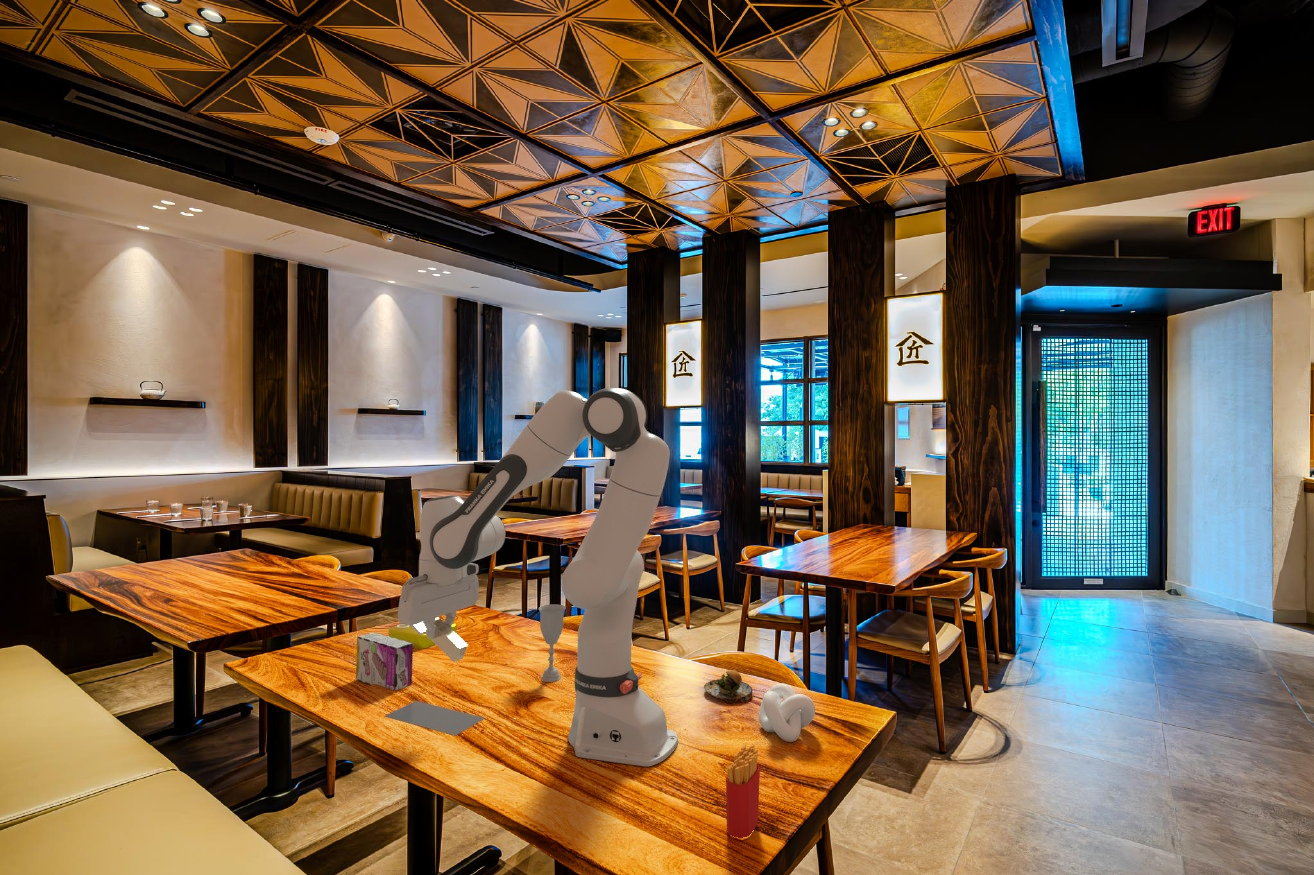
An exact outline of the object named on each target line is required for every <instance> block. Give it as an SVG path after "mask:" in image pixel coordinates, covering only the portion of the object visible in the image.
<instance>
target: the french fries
mask: <svg viewBox="0 0 1314 875" xmlns="http://www.w3.org/2000/svg"><path fill="white" fill-rule="evenodd" d="M758 751H759V750H758V749H756V748H755V744H753V745H750V746H749V747H747V745H745V744H744V745H742V747H741V749H740V751H738V752H736V753H735V754H734V755H733V763H732V764H730V765H729V766H728V767H727V775H726V776H725V794H726V796H725V798H726V802H725V803H726V808H725V810H726V832H727V831H728V833H729V835H732V836H734V837H738V838H743V837H747V836H749V835H750V834H751V833H752V831H753V830H754V829H755V827H756V826H757V823H758V824H759V803H760V801H759V798H760V778H761V777H760V776H761V775H760V774H761V773H760V772H761V771H760V770H761V767H760V765H759V763H758V753H759V752H758ZM757 827H758V826H757ZM755 830H756V829H755ZM728 833H727V834H728ZM729 835H728V836H729Z"/></svg>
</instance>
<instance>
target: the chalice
mask: <svg viewBox="0 0 1314 875" xmlns="http://www.w3.org/2000/svg"><path fill="white" fill-rule="evenodd" d="M565 610H566V606H565V605H562V604H555V603H554V604H552V603H551V604H545V605H541V606H540V607H538V611H539V613H540V616H539V617H540V620H539V621H540V626H539V627H540V628H539V629H540V631H541V635H542V637H543V639H544V642H545V644H547V645H549V650H548V651H547V652H548V654H549V657H548V659H547V660H548V663H549V665H548V667H546V668H545V669H544V671H543V673H542V676H541V678H540V680H541V681H542V682H545V683H546V682H547V683H553V682H558V681H560V680H561V678H562V677H561V675H560V672H559V670H558V668H556V667H555V666H554V661H555V658H554V653H555V650H554V645H555V644H557V643H558V641H559V639H560V637H561V634H562V632H563V628H564V612H565Z"/></svg>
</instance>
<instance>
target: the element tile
mask: <svg viewBox="0 0 1314 875" xmlns="http://www.w3.org/2000/svg"><path fill="white" fill-rule="evenodd" d="M442 621H443V622H444V621H445V620H442ZM457 627H458V626H457V623H456V622H453V624H452V630H453V631H454V632H455V633H456V634H457ZM388 636H389V637H392V638H396V639H399V640H403V641H407V642H410V643H413V650H414V649H415V650H424V649H428V648H430V647H433V646H437V645H436V644H435V643H434V642H433V641H432V640H431V639H429V638H428V637H427V635H426V634H425V633H424V634H421V635H419V634H418V633H417V632H416V631H415V630H414V629H413V628H412V627H411V626H410V625H405V624H401V623H400V624H398V625H395V626H392V627H389V628H388Z"/></svg>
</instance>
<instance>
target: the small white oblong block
mask: <svg viewBox="0 0 1314 875" xmlns="http://www.w3.org/2000/svg"><path fill="white" fill-rule="evenodd" d="M443 621H444V620H442V618H440V616H439V617H436V618H435V623H433V624H434V627H435V629H439V631H438V637H436V638H434V639H431V640H432V641H433V642H434V643H435V644H436V645H435V646H436V647H438V648H439V649H440V650H441V651H442V652H443V653H444V654H445V655H446V656H447V657H448V658H449V660H451V661H452V662H454V663H455V662H457V661H460V660H462V659H463V658H464V655H465V654H466V651H467V649H468V645H469V644H467V642H465V641H464V640H463V638H461V637H460V636H459V635H458V634H457V632H456V633H455V632H454V631H453V630H452V629H451V628H450V627H448V626H447V625H446V624H445V623H444V622H443ZM410 626H411V627H412V628H413V629H414V630H415V631H416V632H417V633H418V634H419V635H421V634H424V633H425V634H426V635H427V629H426V627H425V626H424V624H423V622H421V623H418V624H415V625H410Z"/></svg>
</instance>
